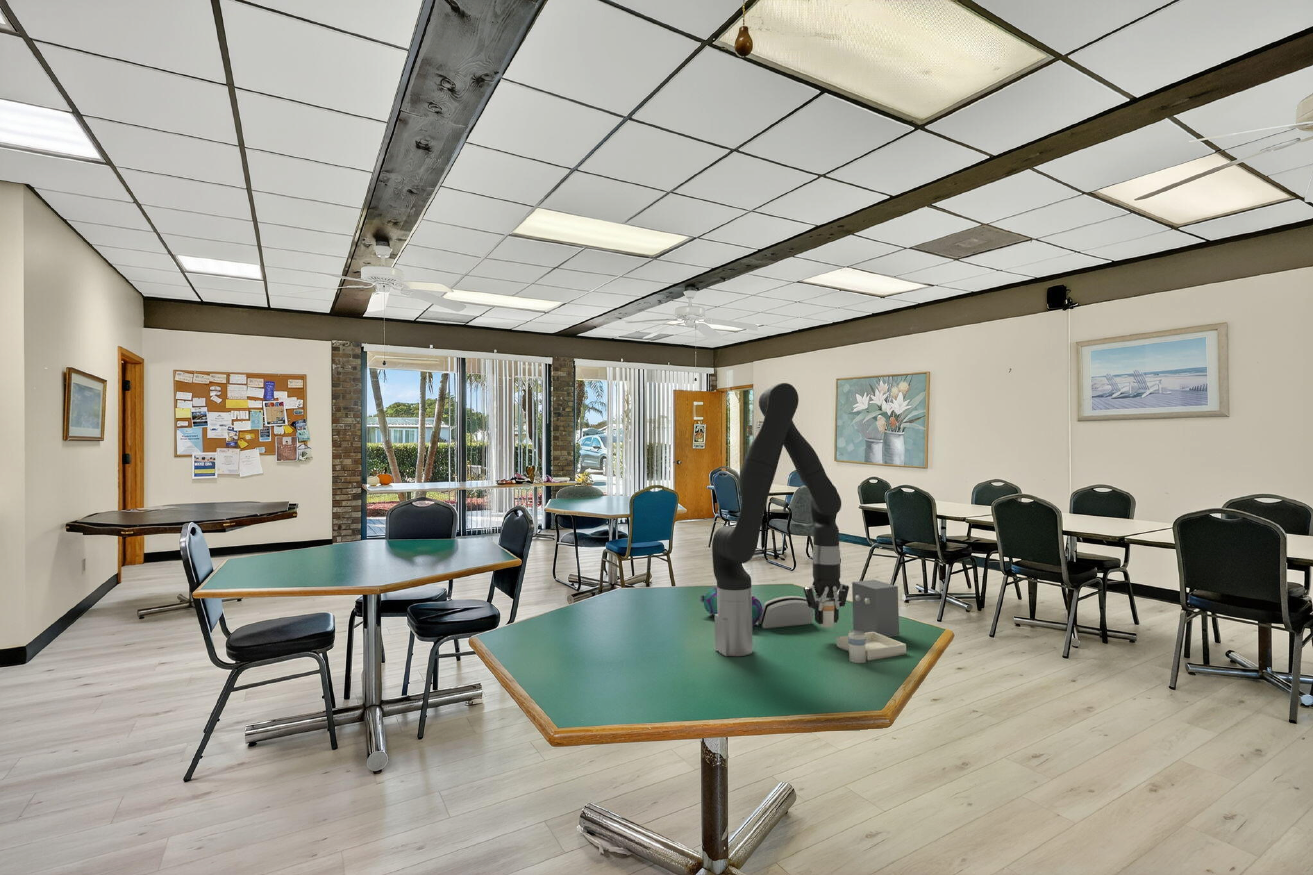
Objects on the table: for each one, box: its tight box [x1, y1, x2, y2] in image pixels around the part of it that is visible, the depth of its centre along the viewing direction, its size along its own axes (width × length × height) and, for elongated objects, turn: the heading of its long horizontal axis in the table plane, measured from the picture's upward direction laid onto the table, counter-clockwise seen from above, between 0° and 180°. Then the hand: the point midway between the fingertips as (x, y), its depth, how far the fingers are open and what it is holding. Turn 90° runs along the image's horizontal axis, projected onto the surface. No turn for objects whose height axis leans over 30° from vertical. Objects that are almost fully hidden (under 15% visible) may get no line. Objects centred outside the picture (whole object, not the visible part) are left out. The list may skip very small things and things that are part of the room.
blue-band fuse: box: [847, 630, 867, 664], centre depth 155 cm, size 4×4×7 cm
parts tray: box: [836, 632, 907, 662], centre depth 163 cm, size 12×12×2 cm
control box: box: [851, 579, 900, 638], centre depth 179 cm, size 9×10×14 cm
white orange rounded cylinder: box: [819, 598, 835, 628], centre depth 172 cm, size 4×4×7 cm
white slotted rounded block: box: [757, 595, 814, 629], centre depth 188 cm, size 17×5×10 cm, turn 105°
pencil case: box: [700, 585, 763, 627], centre depth 194 cm, size 21×9×10 cm, turn 34°
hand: (826, 622), depth 172 cm, fingers closed on white orange rounded cylinder, 4 cm apart
